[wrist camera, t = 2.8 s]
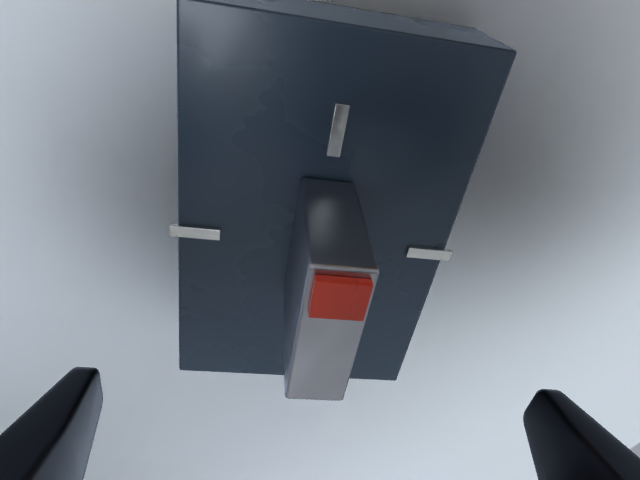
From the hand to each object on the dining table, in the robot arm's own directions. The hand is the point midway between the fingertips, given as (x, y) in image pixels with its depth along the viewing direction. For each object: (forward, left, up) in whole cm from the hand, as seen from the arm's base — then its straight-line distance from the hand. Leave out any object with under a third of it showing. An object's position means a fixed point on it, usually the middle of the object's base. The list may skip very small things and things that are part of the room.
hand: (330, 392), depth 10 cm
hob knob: (0, 0, -5) cm, 5 cm away
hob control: (0, 0, -8) cm, 8 cm away
